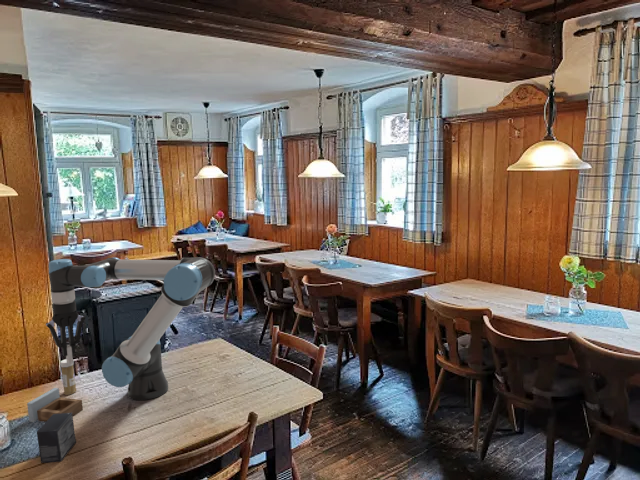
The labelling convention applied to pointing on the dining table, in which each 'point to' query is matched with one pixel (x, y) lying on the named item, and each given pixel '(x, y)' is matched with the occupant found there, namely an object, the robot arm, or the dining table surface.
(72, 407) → the socket block
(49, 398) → the board
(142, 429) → the dining table surface
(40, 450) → the small box
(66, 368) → the sprinkles bottle
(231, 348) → the dining table surface
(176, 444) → the dining table surface
